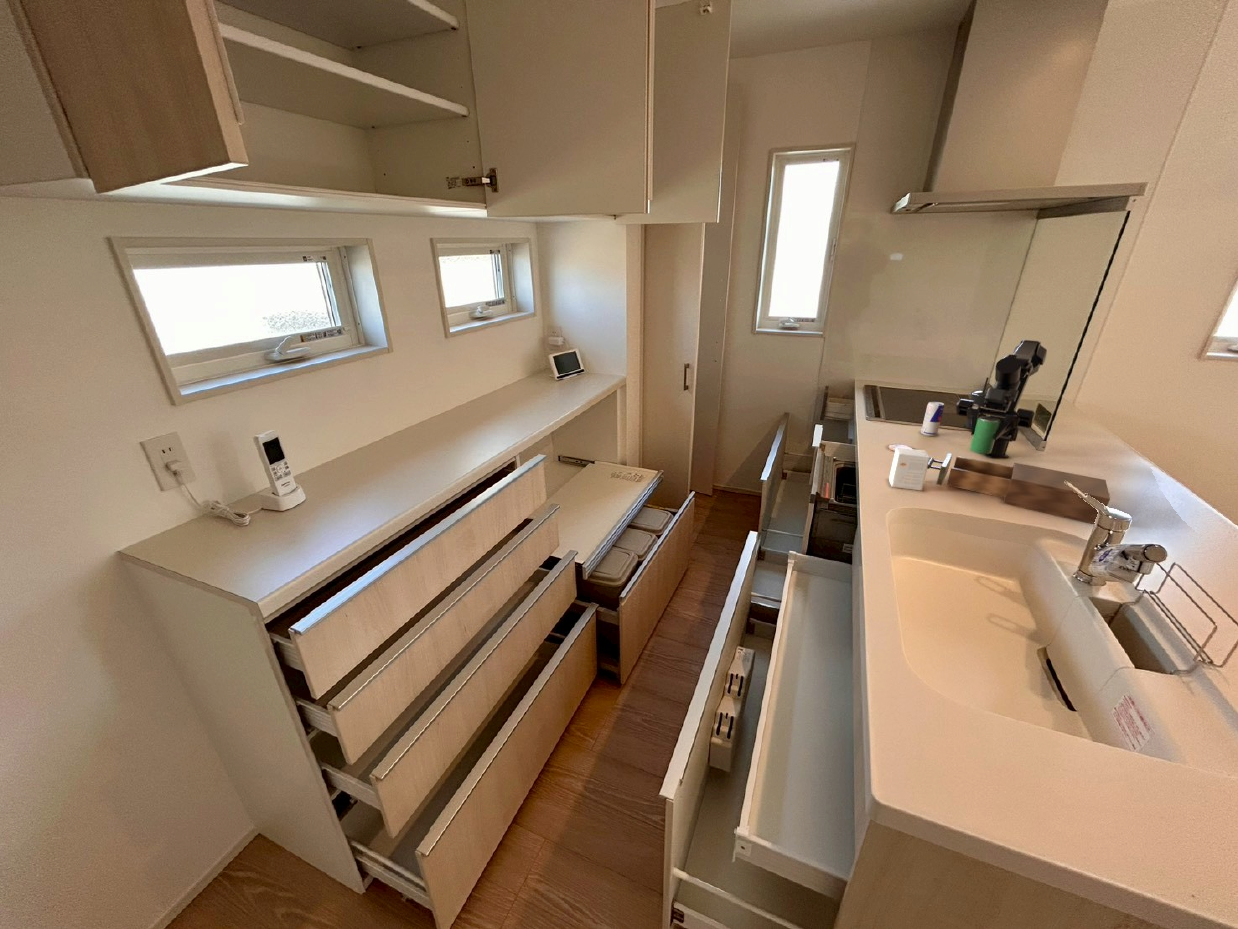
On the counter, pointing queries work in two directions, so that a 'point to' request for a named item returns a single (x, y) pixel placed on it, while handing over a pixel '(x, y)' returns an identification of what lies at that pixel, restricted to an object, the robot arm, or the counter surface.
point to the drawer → (975, 475)
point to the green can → (984, 434)
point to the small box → (909, 468)
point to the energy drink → (932, 418)
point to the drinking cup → (978, 400)
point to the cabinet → (1055, 492)
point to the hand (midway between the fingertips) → (983, 436)
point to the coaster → (892, 447)
